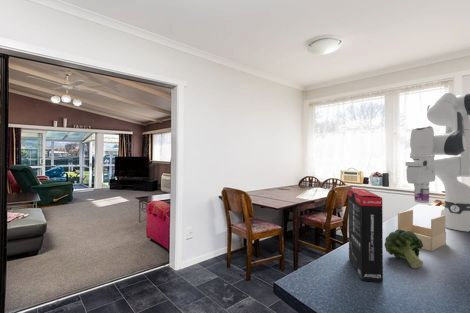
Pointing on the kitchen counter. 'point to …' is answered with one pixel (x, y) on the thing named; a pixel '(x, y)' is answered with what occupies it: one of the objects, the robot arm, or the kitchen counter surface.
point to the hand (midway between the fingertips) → (421, 192)
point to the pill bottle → (422, 194)
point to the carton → (425, 230)
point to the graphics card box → (366, 234)
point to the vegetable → (404, 246)
